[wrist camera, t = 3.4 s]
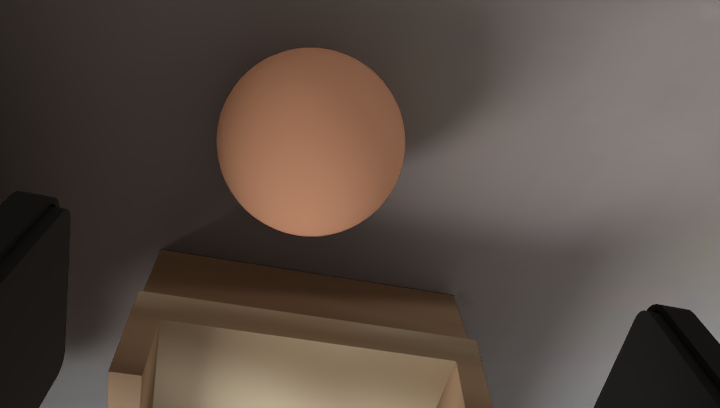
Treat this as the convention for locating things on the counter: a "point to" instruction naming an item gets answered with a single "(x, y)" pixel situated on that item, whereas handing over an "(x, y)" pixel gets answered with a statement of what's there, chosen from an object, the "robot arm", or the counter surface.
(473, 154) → the counter surface
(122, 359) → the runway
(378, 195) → the ball
